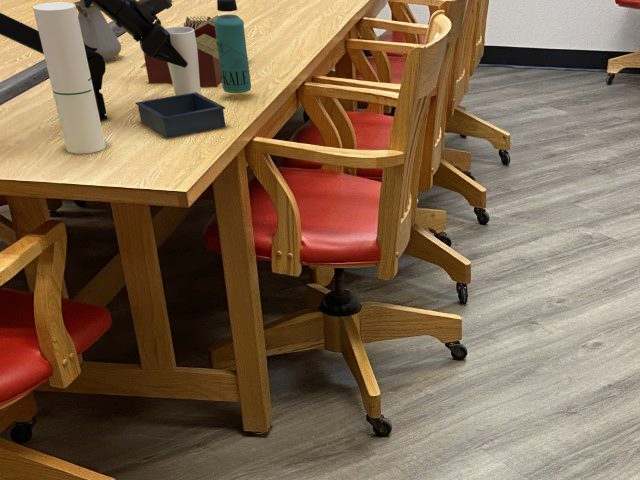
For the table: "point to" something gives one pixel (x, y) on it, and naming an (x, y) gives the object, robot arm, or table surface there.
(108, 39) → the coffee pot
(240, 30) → the beverage bottle
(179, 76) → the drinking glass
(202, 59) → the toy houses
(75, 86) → the cylindrical container
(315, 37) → the table surface
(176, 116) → the dark blue square tray
